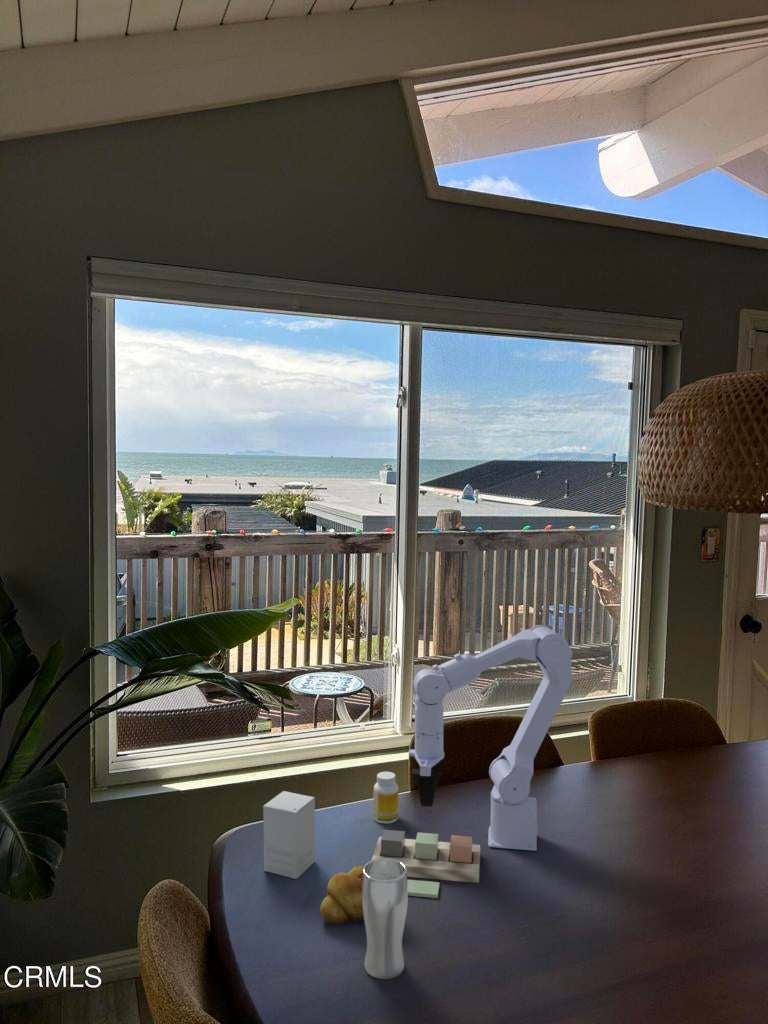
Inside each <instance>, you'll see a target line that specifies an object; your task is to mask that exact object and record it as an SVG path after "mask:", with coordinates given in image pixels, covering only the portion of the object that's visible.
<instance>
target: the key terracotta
mask: <svg viewBox="0 0 768 1024" xmlns="http://www.w3.org/2000/svg"><path fill="white" fill-rule="evenodd" d="M472 844H473V836H466V835H465V836H464V835H454V834H452V835H451V836H450V860H449V862H455V863H467V864H472V861H471V860H472Z"/></svg>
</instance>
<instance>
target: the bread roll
mask: <svg viewBox="0 0 768 1024" xmlns="http://www.w3.org/2000/svg"><path fill="white" fill-rule="evenodd" d="M364 866H365V865H356V866H354V867H353V868H351V870H349V871H348V872H342V871H341V872H337V874H334V875H333V876H332V877H331V878H330V879H329V881H328V883H327V888H326V889H327V890H326V892H327V893H326V894H327V895H326V897H324V899H323V900H322V902H321V904H320V906H319V911H320V915H321V917H322V919H323V920H324V921H326V922H327V923H329V924H334V925H340V924H341V925H342V924H346V923H349V922H351V921H356V922H364V918H363V912H362V879H363V867H364Z"/></svg>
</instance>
